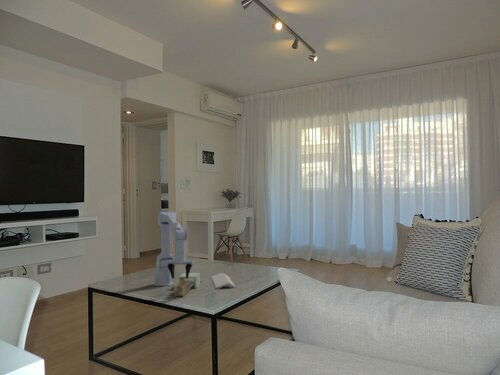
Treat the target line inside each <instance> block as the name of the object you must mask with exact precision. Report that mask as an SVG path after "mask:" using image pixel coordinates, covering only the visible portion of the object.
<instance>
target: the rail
mask: <svg viewBox="0 0 500 375" xmlns="http://www.w3.org/2000/svg"><path fill="white" fill-rule="evenodd" d="M193 287H194V283H190V289H191V288H193ZM182 297H183V296H175V298H182Z"/></svg>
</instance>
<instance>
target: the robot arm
mask: <svg viewBox="0 0 500 375" xmlns="http://www.w3.org/2000/svg"><path fill="white" fill-rule="evenodd" d="M177 216H178V215H177V213H176V211H174V210H173V211H159V213H158V214H157V225H158V226H160V233H161V234H160V235H161V236H160V238H161V241H160V242H161V246H160V248H161V250H160V251H161V252H160V254H159V255H157V257H156V262H155V265H156V269H155V271H154V287H160V286H161V287H169V286H171V285H173V284H174V281H172V279H174V278H175V267H176V265H185V266H184V267H185V273H186V278H185V279H189V278H188V276H189V273H191V272H190V271H191V268H192V266H193V265H194V264H195V261H194V260H190V259H186V241H187V238H188V234H187V232H188V231H187V230H186V229H185V228H182V226H181V225H180V223H179V222H178V221H177ZM170 232H171V233H172V240H173V246H174V249H173V251H174V254H172V253H170Z"/></svg>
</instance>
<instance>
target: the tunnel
mask: <svg viewBox="0 0 500 375" xmlns="http://www.w3.org/2000/svg"><path fill="white" fill-rule="evenodd" d="M191 278H193V281H194V285H193V287H194V289H198V287H199V286H200V285H201V282H200V281H201V272H189V276H188V279H191ZM180 281H187V280H186V272H183V273H182V274H180V275H179V276H178V283H179V282H180Z"/></svg>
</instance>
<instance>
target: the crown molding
mask: <svg viewBox="0 0 500 375" xmlns="http://www.w3.org/2000/svg"><path fill="white" fill-rule="evenodd" d="M210 280H211V281H210V282H211V283H212V285H213V288H214V290H220V289H222V288H223V287H229V288H230V289H231V288H233V289H236V288H237V287H236V285H235V284H234V282H233V281H232V279H231V278H230V276H229V275H227V274H225V273H224V272H221V273H218V274H217V273H216V274H215V275H212V276H210Z"/></svg>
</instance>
